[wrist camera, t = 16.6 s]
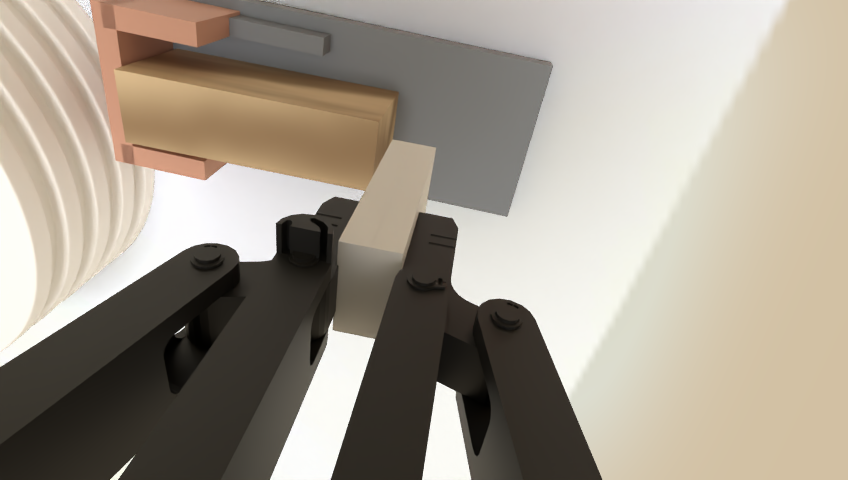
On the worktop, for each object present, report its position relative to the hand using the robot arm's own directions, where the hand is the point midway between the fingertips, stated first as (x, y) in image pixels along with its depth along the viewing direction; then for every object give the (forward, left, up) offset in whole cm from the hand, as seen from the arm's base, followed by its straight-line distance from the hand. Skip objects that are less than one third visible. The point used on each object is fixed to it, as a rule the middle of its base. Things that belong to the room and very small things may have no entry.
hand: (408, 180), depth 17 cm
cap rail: (+3, -6, -16) cm, 17 cm away
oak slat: (+3, -10, -15) cm, 18 cm away
